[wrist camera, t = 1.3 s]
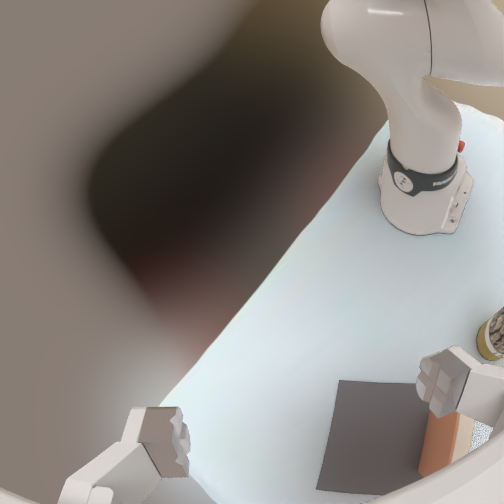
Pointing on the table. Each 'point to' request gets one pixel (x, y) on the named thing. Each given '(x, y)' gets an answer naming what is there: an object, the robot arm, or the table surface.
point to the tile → (445, 441)
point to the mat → (374, 438)
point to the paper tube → (492, 337)
